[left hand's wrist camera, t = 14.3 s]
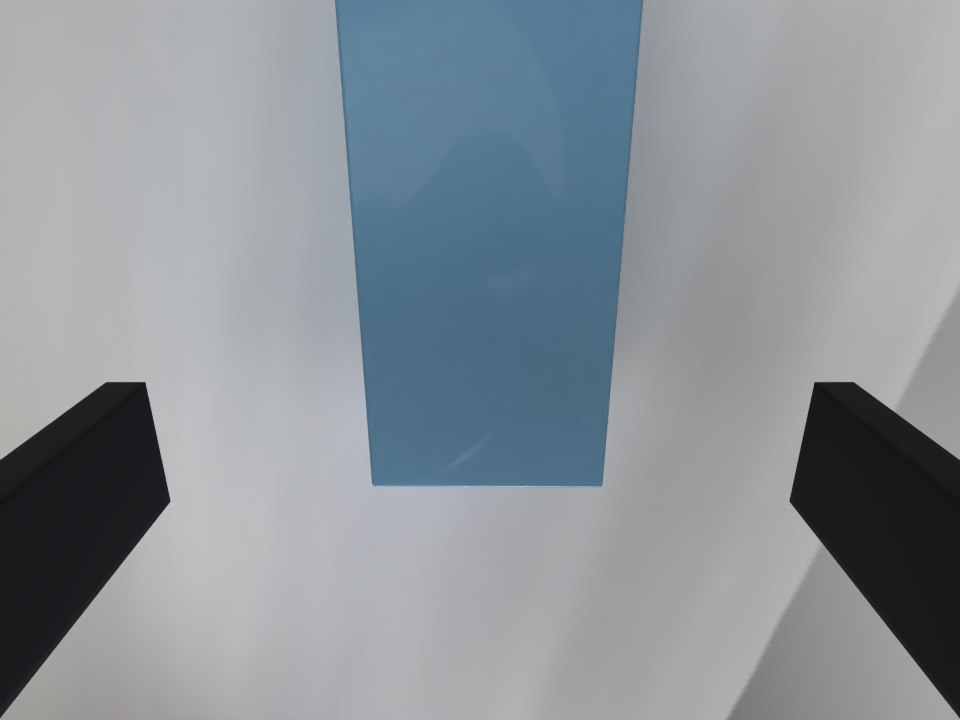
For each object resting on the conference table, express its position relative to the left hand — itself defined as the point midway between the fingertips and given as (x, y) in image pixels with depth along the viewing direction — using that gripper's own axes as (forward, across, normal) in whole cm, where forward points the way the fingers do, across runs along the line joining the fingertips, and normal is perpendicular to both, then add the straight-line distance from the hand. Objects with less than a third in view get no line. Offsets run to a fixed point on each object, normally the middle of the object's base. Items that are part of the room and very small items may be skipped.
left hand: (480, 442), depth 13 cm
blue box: (+13, 0, -4) cm, 14 cm away
